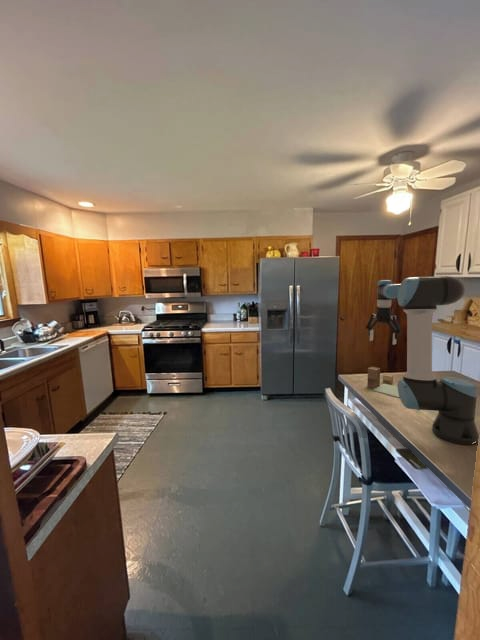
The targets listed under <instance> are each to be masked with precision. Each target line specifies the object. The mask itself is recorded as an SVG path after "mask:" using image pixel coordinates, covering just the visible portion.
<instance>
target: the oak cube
mask: <svg viewBox="0 0 480 640" xmlns="http://www.w3.org/2000/svg"><path fill="white" fill-rule="evenodd" d="M393 383H394V374H393V373H387V372H384V373H383V374H382V384H388V385H393Z"/></svg>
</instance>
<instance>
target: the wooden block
mask: <svg viewBox="0 0 480 640" xmlns="http://www.w3.org/2000/svg"><path fill="white" fill-rule="evenodd" d="M366 385H367V387H369V388H372V389H375V388H377V387H379V386H380V385H381V368H380V367H377V366H369V367H368V368H367V384H366Z"/></svg>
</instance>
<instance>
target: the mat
mask: <svg viewBox="0 0 480 640" xmlns="http://www.w3.org/2000/svg"><path fill="white" fill-rule="evenodd" d="M372 391H373V392H376V393H380V394H384V395H388V396H390V397H393V398H397V399H400V397H399V393H398V386H396V385H393V384H386V383H382V384H380V386H379V387H377V388H372Z"/></svg>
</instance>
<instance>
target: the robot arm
mask: <svg viewBox="0 0 480 640" xmlns="http://www.w3.org/2000/svg"><path fill="white" fill-rule="evenodd" d="M376 287H377V291H376V292H377V296H376V298H377V299H376V313H372V314H371V316H370V318H369V321H368V322H367V324H366V325H365V329H367V330H368V336H369V342H372V341H374V332H375V331H374V328H375V327H376V326H377V325H378V324H379V323H383V324H387V325H388V326H389V327H390V329H391V330H392V332H393V333H392V345H393V346H394V345H396V344H397V339H399V334H400V333H403V329H402V328H401V326H400V323H399V321H398V317H397V315H392V299H397V303H398V305H399V307H402V311H403V312H404V313H406V338H407V339H406V340H407V341H406V351H407V353H406V357H407V358H406V369H407V370H406V372H405V373H404V374H403V375H402V379H399V380H398V381H397V387H398V393H399V400H400V402H401V404H402V405H403V406H404V408H406V409H408V410H416V411H420V410H421V411H436V412H437V411H438V413H437V415H436V416H435V418H434V421H433V422H432V426H431V428H432V429H431V431H432V433H433V434H434V435H435V436H437V437H438V438H440V439H441V440H444V441H446V442H449V443H452V444H456V445H462V446H472V445H471V444H472V443H473V442H475V441H476V443H477V444H478V443H479V442H478V439H480V434H479V431H478V428H477V425H476V421H475V418H476V406H477V398H478V390H477V389H478V388H477V387H476V385H475V384H474V383H472V382H470V381H468V380H465V379H462V378H458V377H455V376H454V377H453V376H445V375H444V376H442V377H441V378H440V379H439V380H438V381H437V377H436V376H435V375H434V374H433V314H434V313H435V312H436V311H437V306H448V305H452V304H455V303H457V302H459V301H460V300H461V299H462V298H463V297H464V295H465V291H466V289H465V285H464V283H463V282H462V281H461V280H460V279H459V278H456V277H452V276H447V275H445V276H443V275H441V276H413V277H407V278H404V279H403V280H402V282H401V283H393V281H392V280H391V279H381V280H378V281H377V286H376ZM375 318H376V320H375ZM374 320H375V321H374Z"/></svg>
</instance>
